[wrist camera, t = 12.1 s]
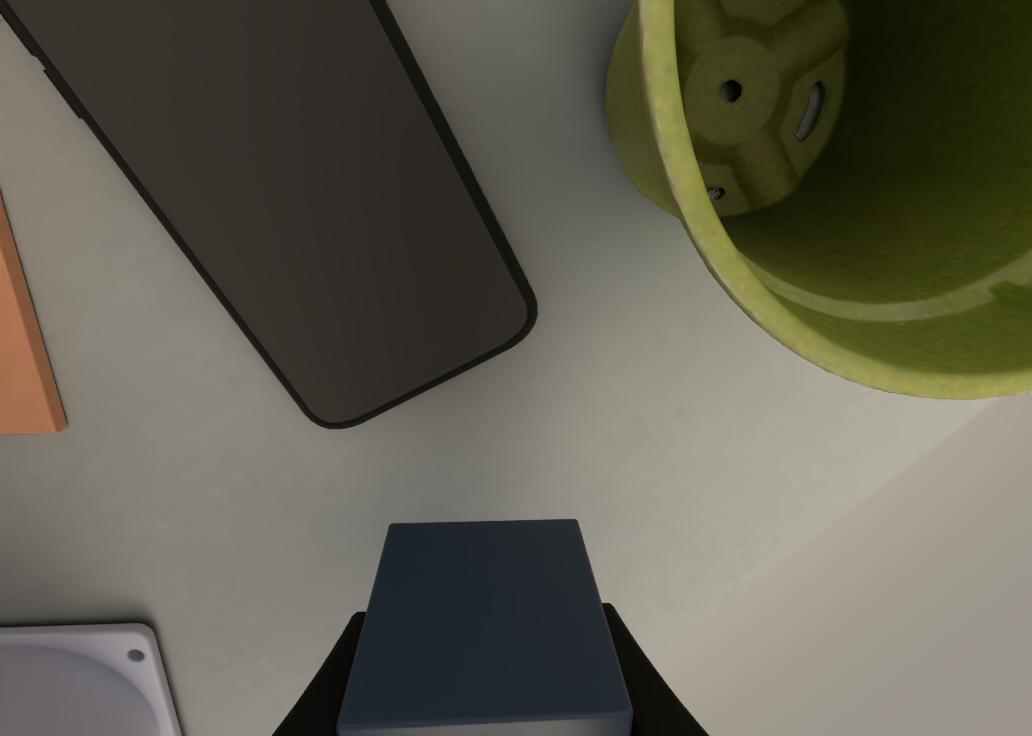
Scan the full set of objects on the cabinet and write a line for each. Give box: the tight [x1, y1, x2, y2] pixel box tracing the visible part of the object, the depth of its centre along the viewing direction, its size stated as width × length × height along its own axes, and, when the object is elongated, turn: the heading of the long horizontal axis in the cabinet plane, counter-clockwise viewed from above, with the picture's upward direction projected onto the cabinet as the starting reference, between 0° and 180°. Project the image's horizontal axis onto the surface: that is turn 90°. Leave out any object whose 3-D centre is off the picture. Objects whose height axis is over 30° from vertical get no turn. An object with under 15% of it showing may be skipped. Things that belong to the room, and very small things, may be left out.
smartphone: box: [0, 0, 538, 429], centre depth 12 cm, size 7×1×15 cm
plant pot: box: [606, 0, 1032, 400], centre depth 9 cm, size 9×9×9 cm
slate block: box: [336, 519, 633, 736], centre depth 11 cm, size 4×4×5 cm
